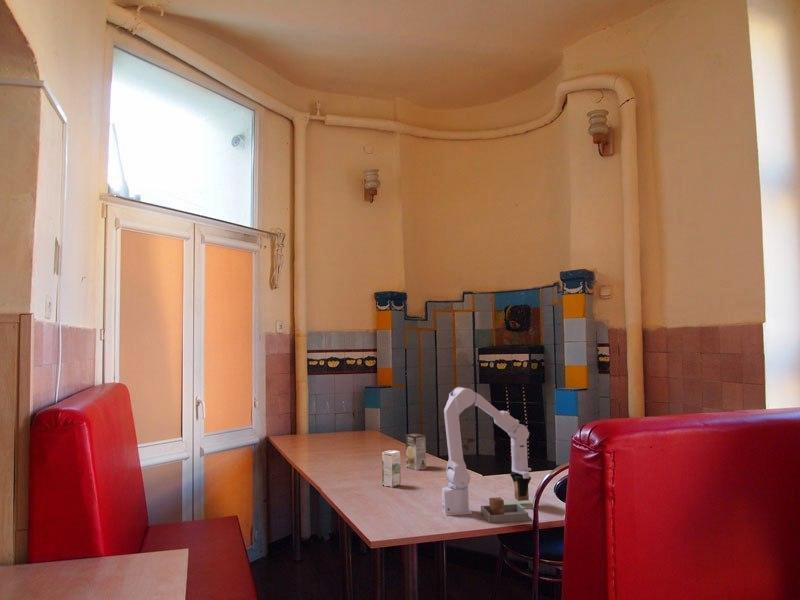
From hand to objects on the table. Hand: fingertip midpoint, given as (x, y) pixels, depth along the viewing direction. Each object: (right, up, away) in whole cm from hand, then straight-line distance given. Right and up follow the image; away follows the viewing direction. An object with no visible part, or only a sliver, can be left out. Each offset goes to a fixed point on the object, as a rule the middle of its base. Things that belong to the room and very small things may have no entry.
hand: (521, 494), depth 215 cm
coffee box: (-37, -11, +71) cm, 81 cm away
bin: (-9, -3, -13) cm, 16 cm away
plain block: (-11, -3, -14) cm, 18 cm away
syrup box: (-48, -9, +37) cm, 61 cm away
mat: (0, -4, 0) cm, 4 cm away
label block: (0, -2, 0) cm, 2 cm away
